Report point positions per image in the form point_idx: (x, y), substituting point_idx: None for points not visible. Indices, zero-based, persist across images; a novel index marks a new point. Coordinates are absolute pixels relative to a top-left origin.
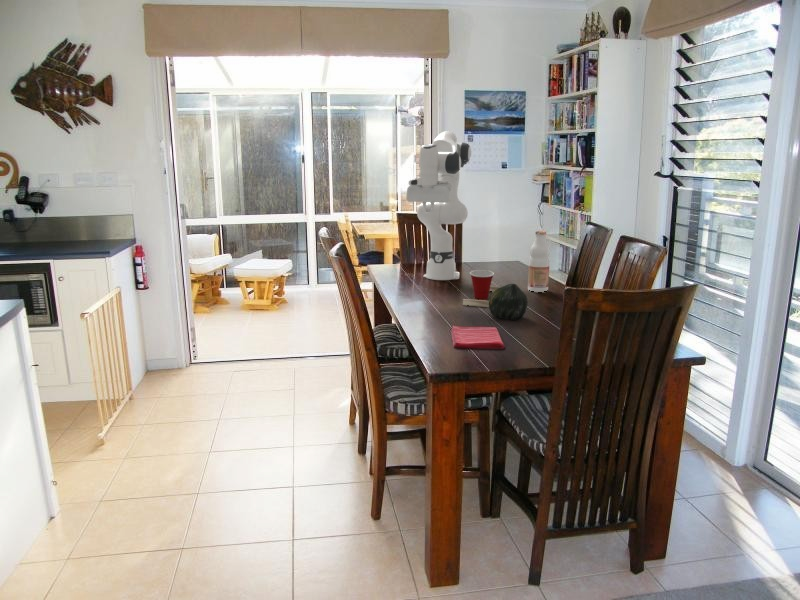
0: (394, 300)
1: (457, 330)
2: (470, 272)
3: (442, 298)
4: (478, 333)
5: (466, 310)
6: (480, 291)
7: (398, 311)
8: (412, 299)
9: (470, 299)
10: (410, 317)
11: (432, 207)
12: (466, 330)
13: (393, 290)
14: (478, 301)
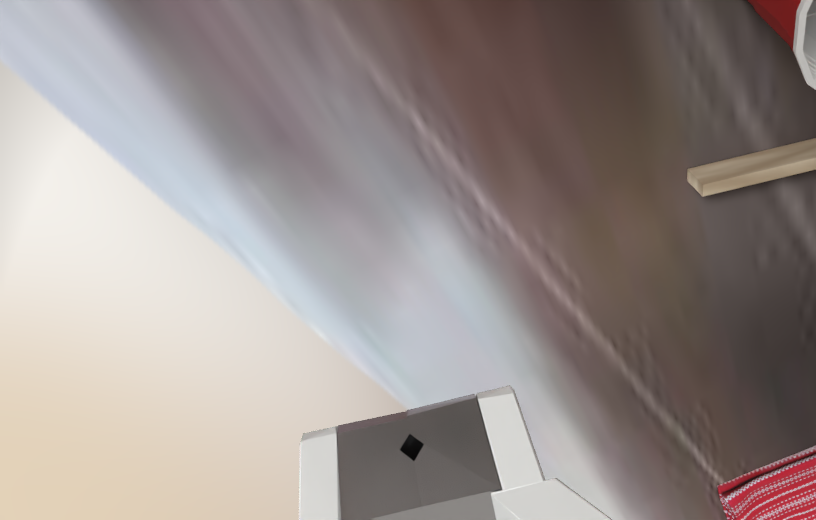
0: (293, 280)
1: (747, 511)
2: (801, 37)
3: (524, 93)
4: (814, 492)
5: (724, 260)
6: (807, 24)
7: None
8: (369, 211)
9: (745, 174)
10: None
11: (579, 508)
12: (773, 490)
13: (85, 53)
14: (791, 172)
